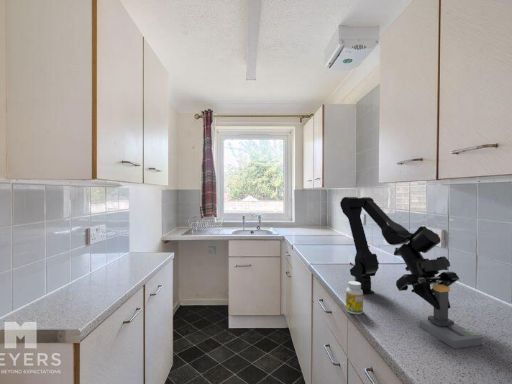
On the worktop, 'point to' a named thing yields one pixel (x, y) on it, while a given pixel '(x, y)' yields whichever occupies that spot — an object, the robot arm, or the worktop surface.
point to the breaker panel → (452, 334)
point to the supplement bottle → (354, 298)
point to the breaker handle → (442, 314)
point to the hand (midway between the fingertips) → (444, 308)
